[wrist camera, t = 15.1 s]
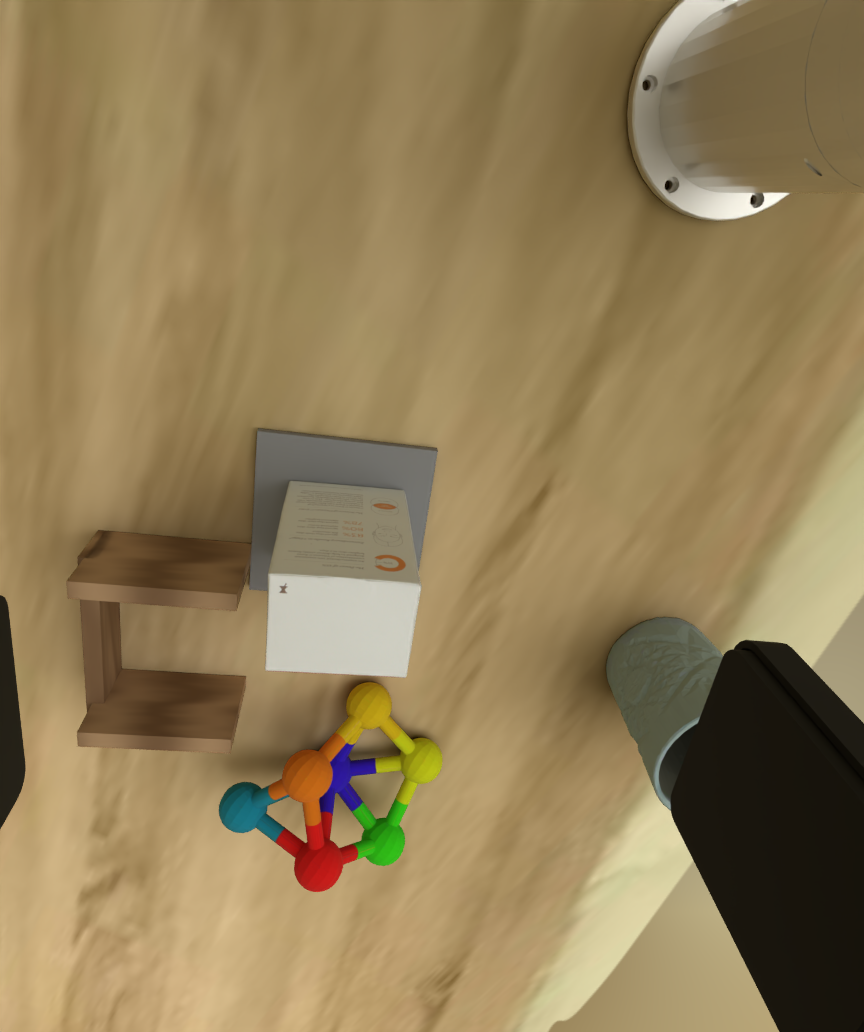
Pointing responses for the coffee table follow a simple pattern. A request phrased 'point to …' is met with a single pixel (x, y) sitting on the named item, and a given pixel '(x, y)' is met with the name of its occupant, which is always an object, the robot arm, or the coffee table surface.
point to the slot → (155, 694)
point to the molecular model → (331, 774)
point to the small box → (342, 582)
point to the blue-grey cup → (662, 692)
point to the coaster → (332, 481)
